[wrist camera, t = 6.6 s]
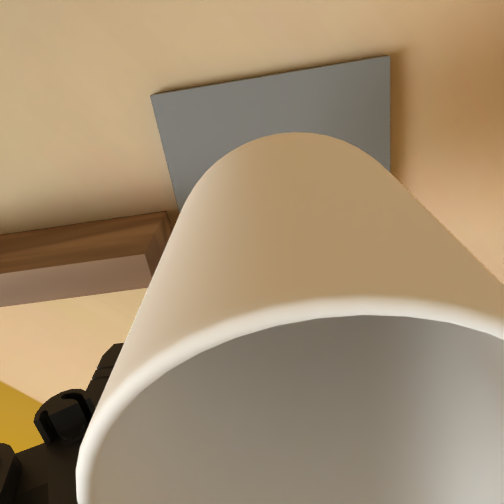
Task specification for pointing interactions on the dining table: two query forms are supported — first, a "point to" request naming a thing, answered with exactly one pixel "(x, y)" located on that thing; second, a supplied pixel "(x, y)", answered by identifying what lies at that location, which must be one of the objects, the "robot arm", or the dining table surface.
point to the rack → (81, 258)
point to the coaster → (274, 114)
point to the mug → (305, 347)
